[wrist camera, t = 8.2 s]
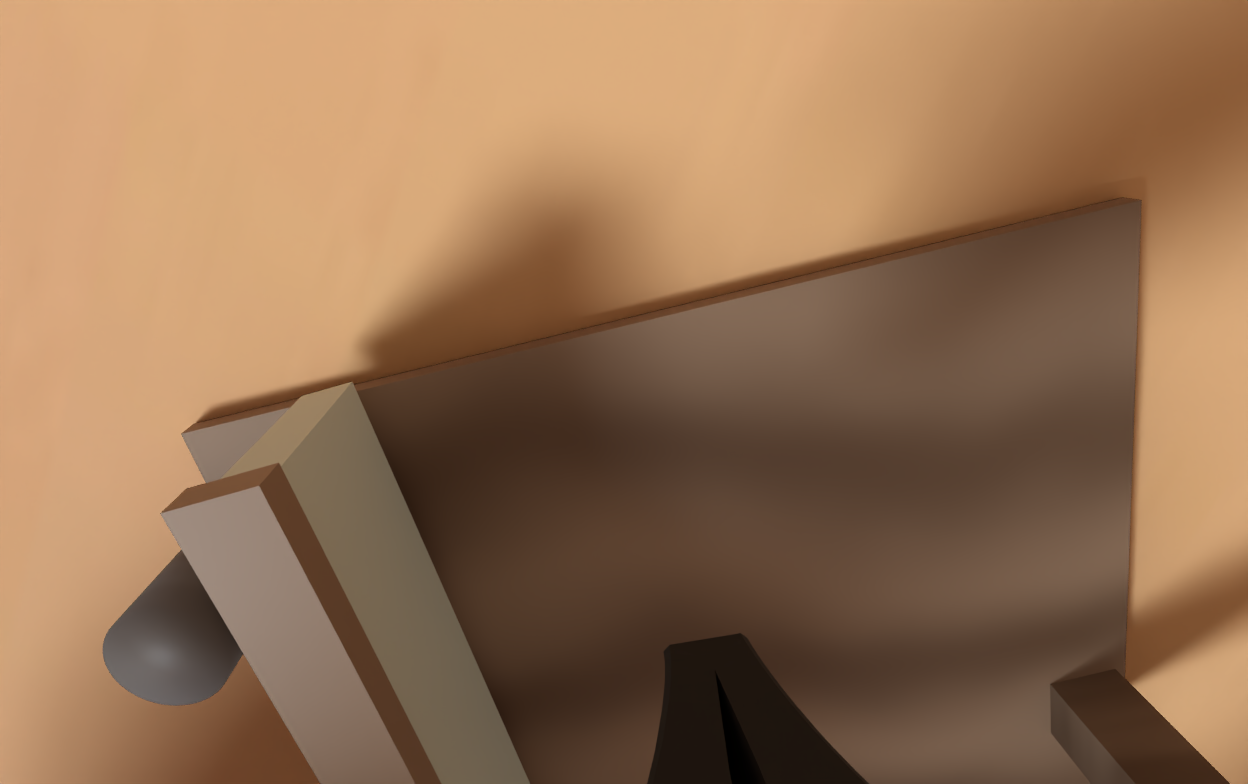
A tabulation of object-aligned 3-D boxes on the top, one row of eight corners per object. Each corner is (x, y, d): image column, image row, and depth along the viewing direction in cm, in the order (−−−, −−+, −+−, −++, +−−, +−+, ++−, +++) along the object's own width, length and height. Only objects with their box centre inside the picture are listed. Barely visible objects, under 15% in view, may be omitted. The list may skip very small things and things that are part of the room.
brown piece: (1106, 830, 25) (1282, 1063, 19) (467, 977, 25) (434, 1253, 19) (1122, 197, 17) (1436, 240, 11) (193, 423, 17) (-14, 589, 11)
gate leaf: (550, 812, 21) (544, 1029, 16) (498, 826, 21) (476, 1046, 16) (357, 370, 16) (259, 485, 11) (289, 390, 16) (160, 513, 11)
